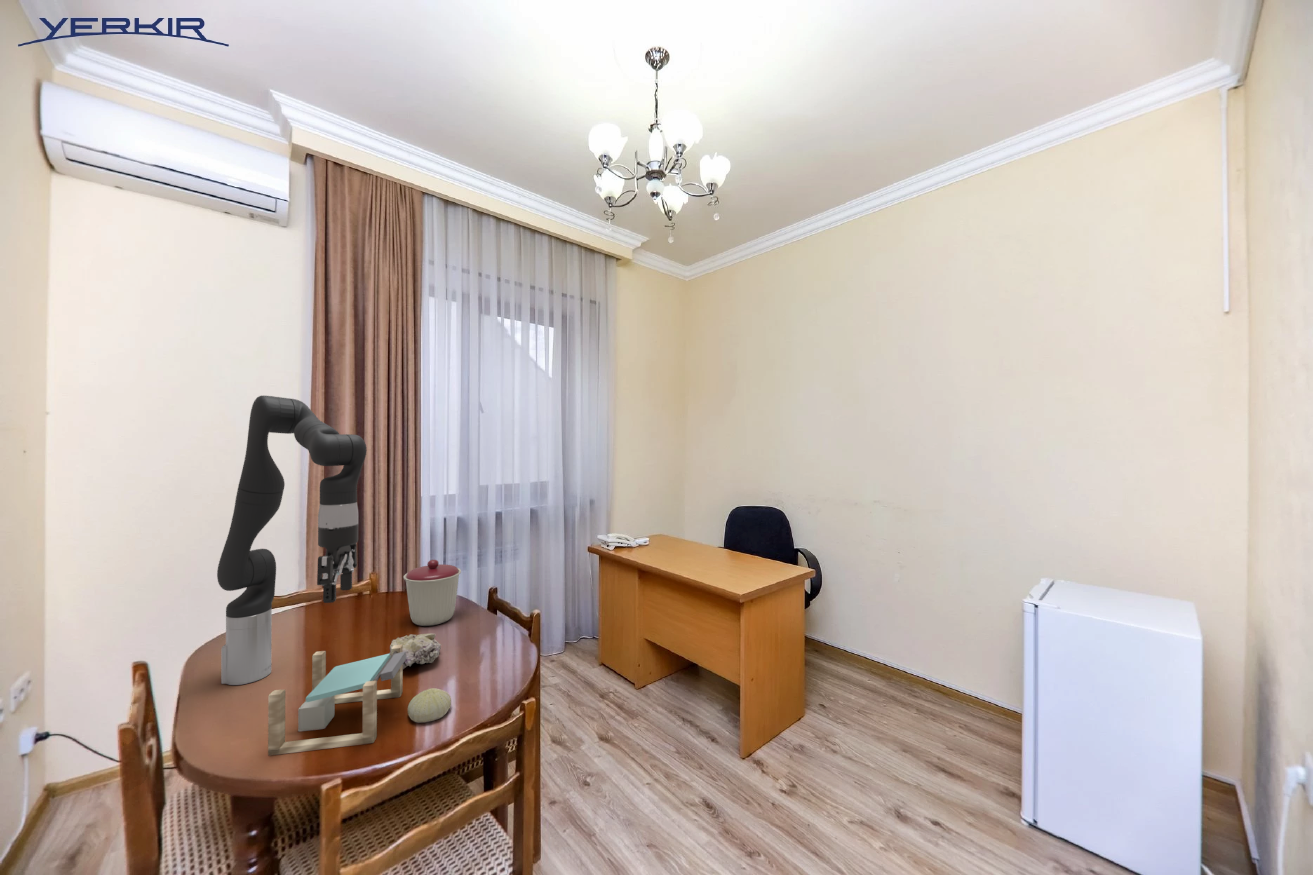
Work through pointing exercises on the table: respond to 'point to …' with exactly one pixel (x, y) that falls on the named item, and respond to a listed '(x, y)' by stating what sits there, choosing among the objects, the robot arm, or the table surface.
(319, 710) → the grey cube
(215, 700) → the table surface
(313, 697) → the trapdoor
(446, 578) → the canister
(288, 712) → the table surface
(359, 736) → the frame
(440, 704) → the sea urchin shell
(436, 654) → the geode
